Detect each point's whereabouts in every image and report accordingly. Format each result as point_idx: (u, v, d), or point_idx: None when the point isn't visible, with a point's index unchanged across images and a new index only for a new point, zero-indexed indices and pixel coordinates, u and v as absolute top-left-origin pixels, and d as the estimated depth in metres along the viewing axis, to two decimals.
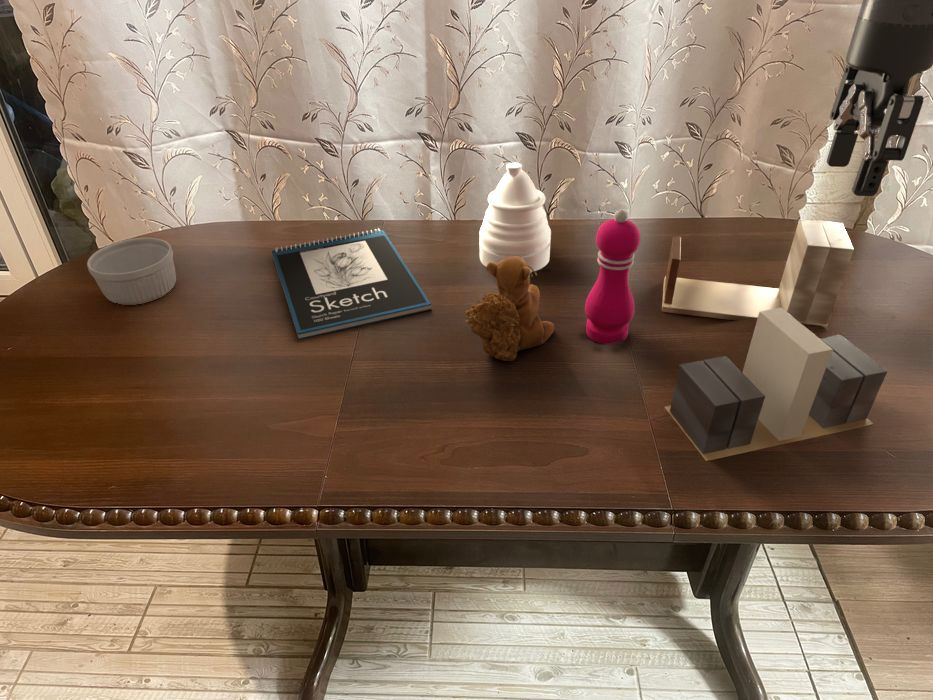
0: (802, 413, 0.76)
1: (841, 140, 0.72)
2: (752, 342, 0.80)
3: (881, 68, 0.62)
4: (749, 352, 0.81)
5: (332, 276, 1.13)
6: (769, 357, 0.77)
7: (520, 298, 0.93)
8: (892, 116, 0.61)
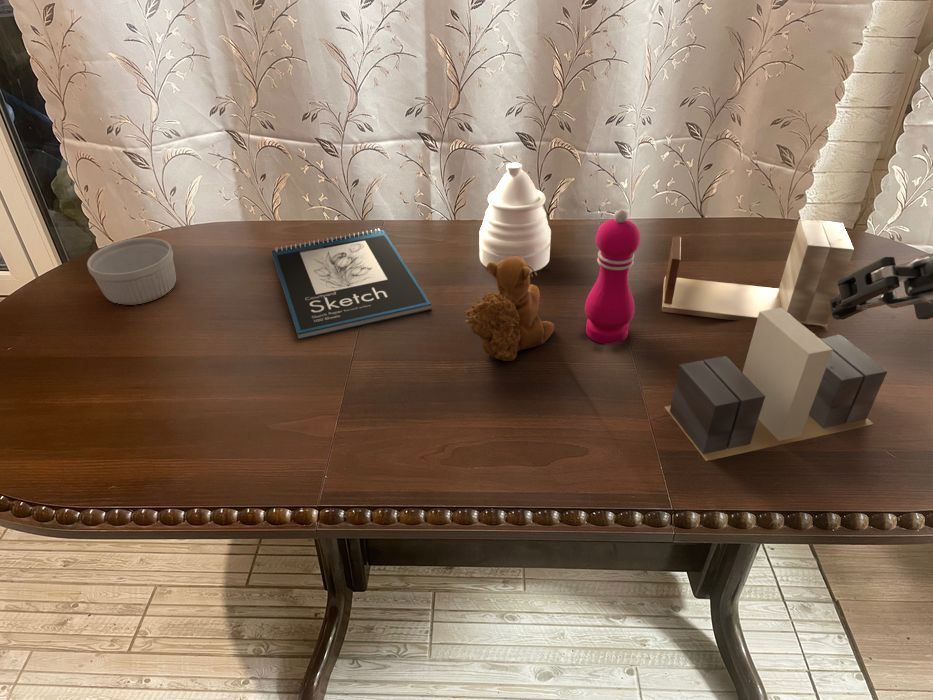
0: (802, 413, 0.76)
1: None
2: (752, 342, 0.80)
3: None
4: (749, 352, 0.81)
5: (332, 276, 1.13)
6: (769, 357, 0.77)
7: (520, 298, 0.93)
8: None
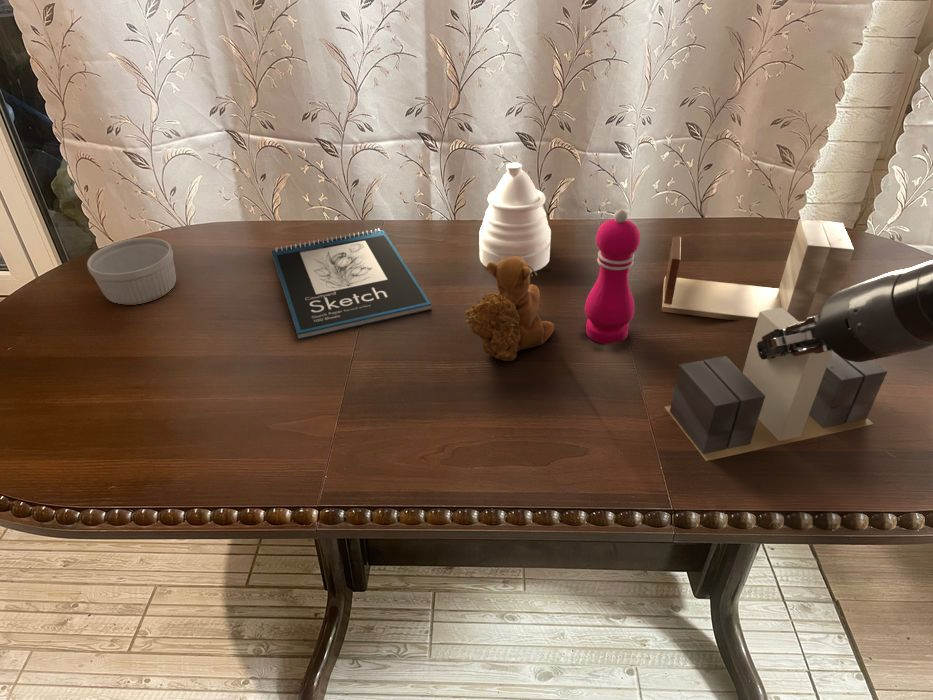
0: (802, 413, 0.76)
1: None
2: (752, 342, 0.80)
3: None
4: (749, 352, 0.81)
5: (332, 276, 1.13)
6: None
7: (520, 298, 0.93)
8: None
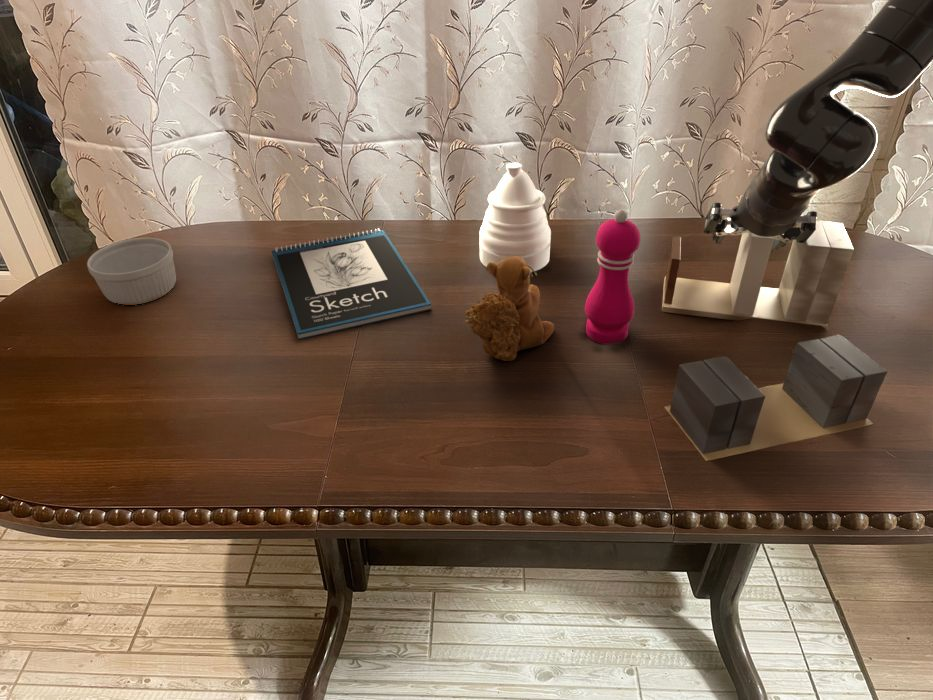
0: (752, 293, 0.98)
1: None
2: (741, 238, 1.03)
3: None
4: (739, 246, 1.04)
5: (332, 276, 1.13)
6: (742, 246, 1.00)
7: (520, 298, 0.93)
8: (813, 231, 0.90)
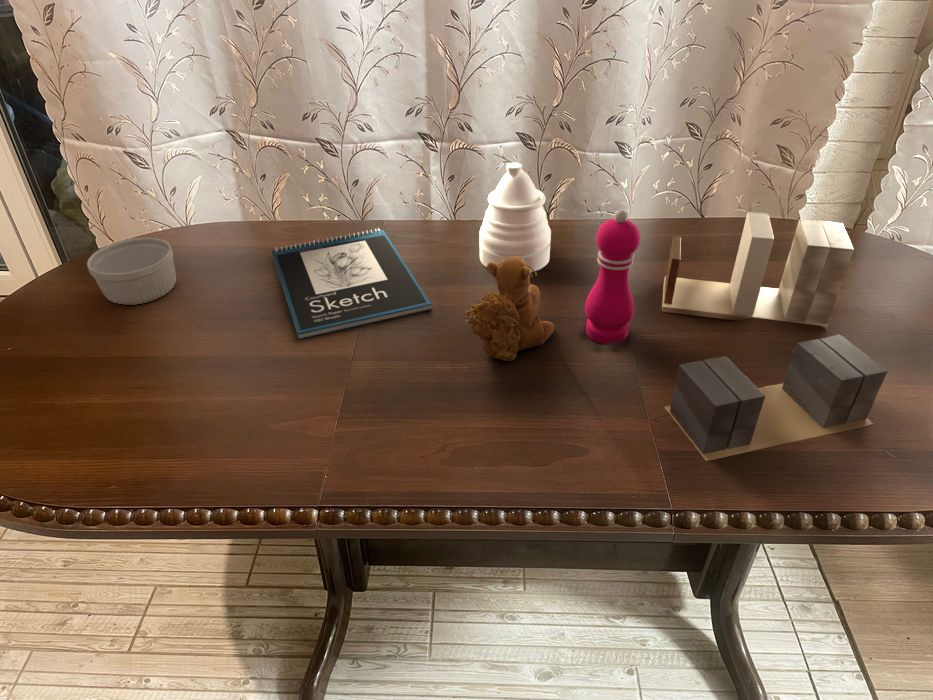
0: (752, 293, 0.98)
1: None
2: (741, 238, 1.03)
3: None
4: (739, 246, 1.04)
5: (332, 276, 1.13)
6: (742, 246, 1.00)
7: (520, 298, 0.93)
8: None
